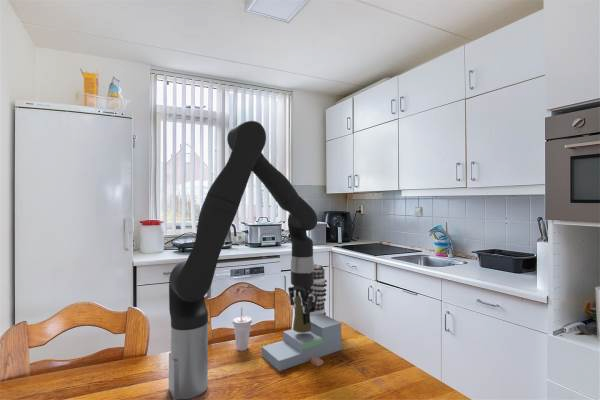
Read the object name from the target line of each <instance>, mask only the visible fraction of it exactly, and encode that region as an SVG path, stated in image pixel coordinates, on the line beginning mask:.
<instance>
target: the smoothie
mask: <svg viewBox="0 0 600 400" xmlns="http://www.w3.org/2000/svg"><path fill="white" fill-rule="evenodd" d="M252 320H253V319H252V318H251V317H250V316H245V315H244V316H243V306H241V307H240V316H237V317H235V318H233V319H232V325H233V329H234V337H235V346H236V350H237V351H239V350H240V352H243V350H244V351H247V350H246V349H247V348H248V347H249V340H250V333H251V332H250V331H251V326H252V325H251V324H252Z"/></svg>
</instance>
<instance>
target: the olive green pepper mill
mask: <svg viewBox="0 0 600 400" xmlns="http://www.w3.org/2000/svg"><path fill="white" fill-rule="evenodd" d="M293 299H294V298H293ZM294 302H295V305H296V310H295V309H294V319H293V326H292V329H293V330H294V331H296V332H301V333H304V332H309V331H310V330H311V322H309V323H307V324H305V325H304V324H303V309H302V306H301V300H300V297H299V296H298V295H297V296H296V297H295V299H294ZM303 302H304V303H308V300H306V301H304V300H303ZM305 307H306V308H307V305H306V306H305Z"/></svg>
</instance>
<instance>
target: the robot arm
mask: <svg viewBox="0 0 600 400" xmlns="http://www.w3.org/2000/svg"><path fill="white" fill-rule="evenodd" d="M226 138H227V139H226V141H227V145H228V147H229V149H230V150H231V153H230V156H229V158H228V160H227V162H226V163H225V166H224V167H223V168H222V170H221V171H220V172H219V174H218V175H217V177H216V178H214V181H213V183H212V184H211V185H210V187H209V189H208V191H207V193H206V196H205V198H204V201H203V204H202V206H201V208H200V210H199V214H198V215H199V216H198V219H197V226H196V227H197V228H196V233H195V239H194V243H193V246H192V248H191V251H190V253H189V255H188V257H187V259H186V260H185V261H181V262H179V263H178V264H176V265H175V266H174V267H173V268H172V270H171V272H170V275H169V278H168V279H169V280H168V309H169V315H170V352H169V353H168V391H169V393H170V395H171V398H172V400H189V399H194V398H196V397H199V396H200V395H202V394H203V393H205V392H206V391H207V389H208V382H209V377H208V375H209V366H208V365H209V354H208V353H209V348H208V347H209V313H208V308H207V306H206V301H205V300H206V299H205V296H206V295H207V293H208V291H210V289H211V286H212V283H213V280H214V277H215V271H216V269H217V264H218V261H219V259H220V255H221V252H222V249H223V247H224V244H225V242H226V239H227V237H228V234H229V233H230V231H231V227H232V224H233V222H234V220H235V218H236V215H237V213H238V209H239V207H240V205H241V201H242V199H243V195H244V193H245V190H246V188H247V185H248V182H249V180H250V177H251V174H252V173H253V174H254V175H255V176H256V178H258V179H259V181H260V182H261V184H263V186H264V187H265V188H266V189H267V191H268V192H269V194H270V195H271V196H272V198H273V199H274V200H275V202H276V204H278V206H279V207H280V208H281V209H282V210H283V211H285V212H288V213H289V214H288V217H287V228H288V233H289V238H290V241H291V260H290V284H291V285H292V286H289V287H288V295H289V300H290V305H291V306H293V308H294V311H295V310H296V305H295V302H294V299H295V297H296V296H297V295H298V296H299V297H300V300H301V306H302V309H303V324H304V325H305V324H307V323H309V322H310V313H311V312H314V310H315V306H316V302H317V295H313V294H312V290H311V286H312V285H313V283H314V264H315V263H314V241H313V239H312V238H310V237H309V236H308V234H307V232H310V231H312V230H314V229H315V228H316V227H317V225H318V216H317V213H316V212H315V210H314V209H313V208H312V206H310V205H309V203H307V202H306V201H305V200H304V199H303V197H301V196H300V195H299V193H298V191H296V189H295V188H294V186H293V184H292V183H291V182H290V180H289V179H288V178H287V177H286V176H285V175H284V174H283V173H282V172H281V171H280V170H279V169H277V167H275V166H274V165H273V164H272V163H271V162H270V161H269V160H268V159H267V157H265V155H264V154H263V149H264V148H265V146H266V142H267V133H266V129H265V128H264V126H263V125H262V124H261V123H260V122H259V121H256V120H247V121H243V122H240V123H239V124H237V125H235V126H234V127H232V128H231V129H230V130H229V131H228V133H227V137H226ZM303 300H304V301H306V300H308V303H304V302H303ZM306 305H307V308H306V307H305V306H306Z"/></svg>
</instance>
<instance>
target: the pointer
mask: <svg viewBox="0 0 600 400" xmlns="http://www.w3.org/2000/svg"><path fill="white" fill-rule="evenodd" d="M310 362H311V364H313V365H314V366H316V367H320V366H322V365H324V360H323V359H321V357H319V358H318V357H311V360H310Z"/></svg>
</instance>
